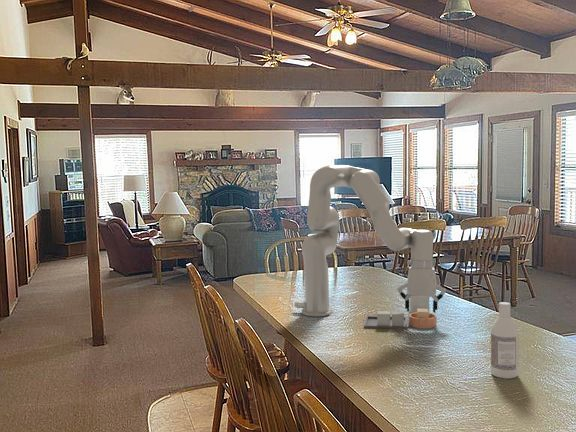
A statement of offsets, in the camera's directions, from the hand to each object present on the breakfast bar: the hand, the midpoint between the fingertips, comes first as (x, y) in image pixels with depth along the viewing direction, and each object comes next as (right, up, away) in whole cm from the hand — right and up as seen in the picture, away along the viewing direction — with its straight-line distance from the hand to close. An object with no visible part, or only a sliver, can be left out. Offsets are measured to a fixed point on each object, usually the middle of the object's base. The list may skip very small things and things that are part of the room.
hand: (421, 311), depth 202 cm
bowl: (+1, -5, 0) cm, 5 cm away
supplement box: (+4, -4, +18) cm, 19 cm away
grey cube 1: (-14, -5, -1) cm, 15 cm away
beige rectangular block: (+1, -5, 0) cm, 5 cm away
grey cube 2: (-9, -5, -2) cm, 10 cm away
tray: (-12, -5, +3) cm, 14 cm away
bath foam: (+11, -9, -49) cm, 51 cm away
